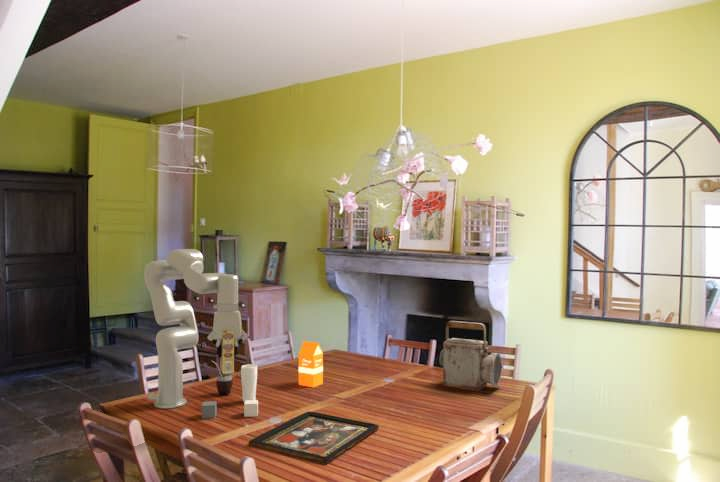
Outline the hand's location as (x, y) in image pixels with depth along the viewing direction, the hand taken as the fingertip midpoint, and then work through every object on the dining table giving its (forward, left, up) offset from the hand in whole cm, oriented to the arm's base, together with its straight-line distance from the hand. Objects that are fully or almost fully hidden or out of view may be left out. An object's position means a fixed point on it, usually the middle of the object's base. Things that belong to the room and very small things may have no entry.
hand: (227, 356), depth 201 cm
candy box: (0, 0, -6) cm, 6 cm away
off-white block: (+8, +10, -25) cm, 28 cm away
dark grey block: (-8, +10, -25) cm, 28 cm away
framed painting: (+32, -17, -26) cm, 45 cm away
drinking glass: (+6, +27, -25) cm, 38 cm away
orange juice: (+33, +51, -25) cm, 66 cm away
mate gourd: (-6, +39, -25) cm, 47 cm away
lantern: (+107, +39, -25) cm, 117 cm away
